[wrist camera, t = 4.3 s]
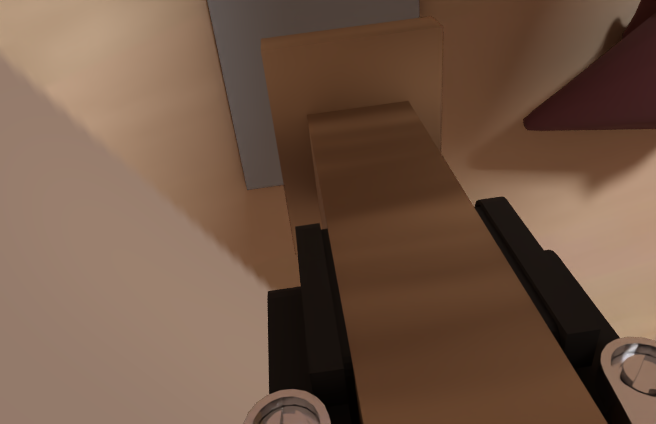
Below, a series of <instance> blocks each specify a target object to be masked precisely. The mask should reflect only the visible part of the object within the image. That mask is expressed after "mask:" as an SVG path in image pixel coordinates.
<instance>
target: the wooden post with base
mask: <svg viewBox="0 0 656 424" xmlns="http://www.w3.org/2000/svg"><path fill="white" fill-rule="evenodd" d="M261 55H262V61H263V67H264V73H265V78H266V84H267V90H268V96H269V102H270V108H271V114H272V120H273V125H274V131H275V137H276V143H277V149H278V155H279V161H280V166H281V172H282V178H283V184H284V190H285V196H286V202H287V208H288V213H289V219H290V225H291V231H292V237H293V243H294V249H295V254H298V252H297V241H296V231H295V226H302V225H309V224H316V223H320V227H321V229H327V228H328V233H329V238H330V244H331V249H332V255H333V260H334V265H335V271H336V276H337V282H338V287H339V293H340V298H341V303H342V309H343V314H344V320H345V325H346V330H347V336H348V341H349V347H350V352H351V358H352V364H353V371H354V379H355V388H356V397H357V406H358V415H359V424H608V423H607V422H606V420H605V418H604V417H603V415H602V414H601V412H600V410H599V409H598V407H597V405H596V404H595V402H594V401H593V399H592V397H591V396H590V394H589V393H588V391H587V389H586V388H585V386H584V384H583V383H582V381H581V380H580V378H579V376H578V375H577V373H576V371H575V370H574V368H573V367H572V365H571V363H570V362H569V360H568V359H567V357H566V355H565V354H564V352H563V350H562V349H561V347H560V346H559V344H558V342H557V341H556V339H555V337H554V336H553V334H552V333H551V331H550V329H549V328H548V326H547V325H546V323H545V321H544V320H543V318H542V316H541V315H540V313H539V312H538V310H537V308H536V307H535V305H534V303H533V302H532V300H531V299H530V297H529V295H528V294H527V292H526V291H525V289H524V287H523V286H522V284H521V282H520V281H519V279H518V278H517V276H516V274H515V273H514V271H513V269H512V268H511V266H510V265H509V263H508V261H507V260H506V258H505V257H504V255H503V253H502V252H501V250H500V248H499V247H498V245H497V244H496V242H495V240H494V239H493V237H492V235H491V234H490V232H489V231H488V229H487V227H486V226H485V224H484V223H483V221H482V219H481V218H480V216H479V214H478V213H477V211H476V210H475V208H474V206H473V205H472V203H471V201H470V200H469V198H468V197H467V195H466V193H465V192H464V190H463V189H462V187H461V185H460V184H459V182H458V180H457V179H456V177H455V176H454V174H453V172H452V171H451V169H450V167H449V166H448V164H447V163H446V161H445V159H444V158H443V156H442V155H441V122H442V65H443V26H442V25H441V24H440V23H438V22H437V21H436V20H435V19H434V18H433V17H432V16H429V17H421V18H414V19H406V20H398V21H391V22H383V23H376V24H368V25H361V26H353V27H345V28H338V29H330V30H323V31H315V32H308V33H300V34H293V35H285V36H277V37H270V38H262V39H261Z"/></svg>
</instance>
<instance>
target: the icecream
mask: <svg viewBox="0 0 656 424" xmlns="http://www.w3.org/2000/svg"><path fill="white" fill-rule="evenodd" d="M523 123H524V126H525V128H526V129H527V130H534V131H555V130H616V129H656V0H641V2H640V4H639V6H638V8H637V10H636V13H635V15H634V17H633V18H632V20H631V22H630V23H629V25H628V26H627V28H626V30H625V31H624V33H623V35H622V40H621V41H620V42H619V43H617V44H616V45H615V46H614V47H612V48H611V49H610V50H609V51H607V52H606V53H605V54H604V55H602V56H601V57H600V58H599V59H598V60H596V61H595V62H594V63H593V64H591V65H590V66H589V67H588V68H586V69H585V70H584V71H583V72H582V73H580V74H579V75H578V76H577V77H575V78H574V79H573V80H572V81H570V82H569V83H568V84H567V85H565V86H564V87H563V88H562V89H560V90H559V91H558V92H556V93H555V94H554V95H553V96H551V97H550V98H549V99H547V100H546V101H545V102H544V103H542V104H541V105H540V106H538V107H537V108H536V109H535V110H534V111H532V112H531V113H530V114H529V115H528V116H526V117H525V118H524V119H523Z"/></svg>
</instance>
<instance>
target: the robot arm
mask: <svg viewBox="0 0 656 424" xmlns="http://www.w3.org/2000/svg"><path fill="white" fill-rule="evenodd" d="M474 208H475V210H476V211H477V213H478V214H479V216H480V218H481V219H482V221H483V223H484V224H485V226H486V227H487V229H488V231H489V232H490V234H491V235H492V237H493V239H494V240H495V242H496V244H497V245H498V247H499V248H500V250H501V252H502V253H503V255H504V257H505V258H506V260H507V261H508V263H509V265H510V266H511V268H512V269H513V271H514V273H515V274H516V276H517V278H518V279H519V281H520V282H521V284H522V286H523V287H524V289H525V291H526V292H527V294H528V295H529V297H530V299H531V300H532V302H533V303H534V305H535V307H536V308H537V310H538V312H539V313H540V315H541V316H542V318H543V320H544V321H545V323H546V325H547V326H548V328H549V329H550V331H551V333H552V334H553V336H554V337H555V339H556V341H557V342H558V344H559V346H560V347H561V349H562V350H563V352H564V354H565V355H566V357H567V359H568V360H569V362H570V363H571V365H572V367H573V368H574V370H575V371H576V373H577V375H578V376H579V378H580V380H581V381H582V383H583V384H584V386H585V388H586V389H587V391H588V393H589V394H590V396H591V397H592V399H593V401H594V402H595V404H596V405H597V407H598V409H599V410H600V412H601V414H602V415H603V417H604V418H605V420H606V422H607V423H608V424H656V341H655V340H651V339H647V338H643V337H624V338H620V337H619V336H618V335H617V334H616V332H615V331H614V330H613V328H612V327H611V326H610V324H609V323H608V322H607V320H606V319H605V318H604V316H603V315H602V314H601V312H600V311H599V310H598V308H597V307H596V306H595V304H594V303H593V302H592V300H591V299H590V298H589V296H588V295H587V294H586V292H585V291H584V290H583V288H582V287H581V286H580V284H579V283H578V282H577V280H576V279H575V278H574V276H573V275H572V274H571V272H570V271H569V270H568V268H567V267H566V266H565V264H564V263H563V262H562V260H561V259H560V258H559V257H558V255H557V254H556V253H555V252H554V251H551V250H543V249H542V247H541V246H540V245H539V243H538V242H537V241H536V239H535V238H534V236H533V235H532V234H531V232H530V231H529V230H528V228H527V227H526V225H525V224H524V223H523V221H522V220H521V219H520V217H519V216H518V214H517V213H516V212H515V210H514V209H513V208H512V206H511V205H510V203H509V202H508V201H507V199H506V198H505V197H496V198H489V199H482V200H478V201H476V204H475V207H474ZM295 231H296V241H297V252H298V262H299V272H300V283H301V287H294V288H287V289H280V290H274V291H268V349H269V350H268V351H269V395H267V396H265V397H264V398H263V399H261V400H260V401H258V402H257V403H256V404H255V405H254V406H253V408H252V409H251V410H250V411H249V412H248V414H247V417H246V419H245V421H244V423H243V424H359V415H358V406H357V397H356V388H355V379H354V371H353V364H352V358H351V352H350V347H349V341H348V336H347V330H346V325H345V320H344V314H343V309H342V303H341V298H340V293H339V287H338V282H337V276H336V271H335V265H334V260H333V255H332V249H331V244H330V238H329V233H328V228H327V229H321V227H320V223H316V224H309V225H302V226H295Z"/></svg>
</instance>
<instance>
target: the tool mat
mask: <svg viewBox="0 0 656 424" xmlns="http://www.w3.org/2000/svg"><path fill="white" fill-rule="evenodd" d="M207 2H208V7H209V11H210V16H211V21H212V26H213V30H214V35H215V40H216V44H217V49H218V54H219V59H220V63H221V68H222V73H223V78H224V82H225V87H226V92H227V96H228V101H229V106H230V111H231V115H232V120H233V125H234V130H235V134H236V139H237V144H238V148H239V153H240V158H241V163H242V167H243V172H244V177H245V182H246V186H247V190H251V189H258V188H265V187H272V186H278V185H284V184H283V178H282V172H281V166H280V161H279V155H278V149H277V143H276V137H275V131H274V125H273V120H272V114H271V108H270V102H269V96H268V90H267V84H266V78H265V73H264V67H263V61H262V55H261V39H262V38H270V37H277V36H285V35H293V34H300V33H308V32H315V31H323V30H330V29H338V28H345V27H353V26H361V25H368V24H376V23H383V22H391V21H398V20H406V19H414V18H419V0H207Z"/></svg>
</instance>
